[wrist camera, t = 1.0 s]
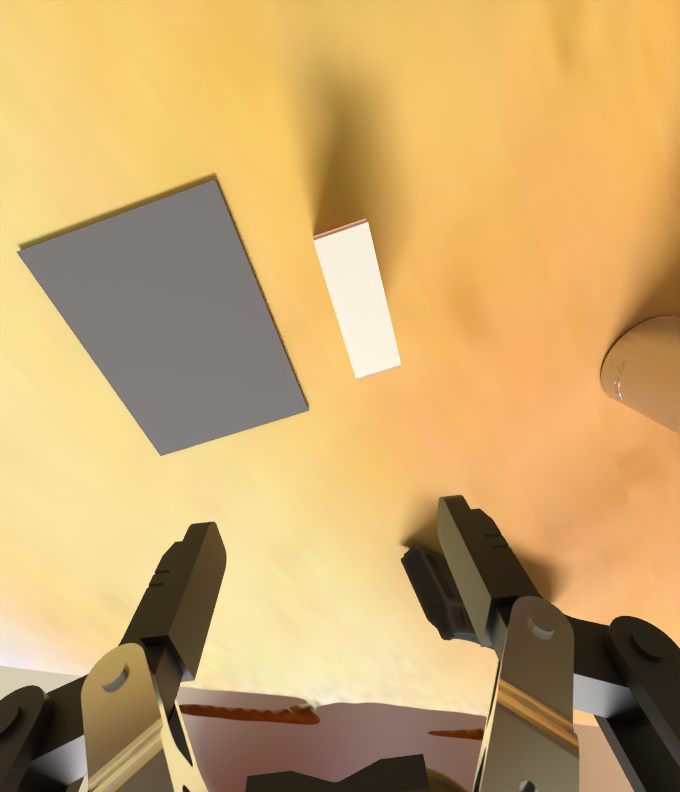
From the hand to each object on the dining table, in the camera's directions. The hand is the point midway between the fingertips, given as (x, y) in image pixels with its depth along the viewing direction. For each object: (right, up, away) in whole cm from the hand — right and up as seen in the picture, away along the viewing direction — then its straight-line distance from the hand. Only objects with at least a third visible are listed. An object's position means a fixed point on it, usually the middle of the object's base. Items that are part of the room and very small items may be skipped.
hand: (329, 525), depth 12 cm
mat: (-13, +10, +17) cm, 23 cm away
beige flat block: (+1, +14, +16) cm, 21 cm away
